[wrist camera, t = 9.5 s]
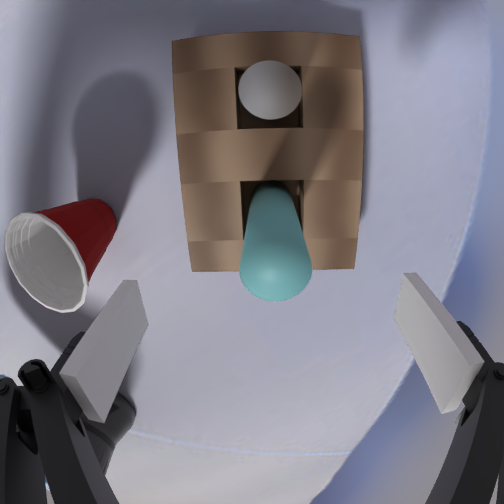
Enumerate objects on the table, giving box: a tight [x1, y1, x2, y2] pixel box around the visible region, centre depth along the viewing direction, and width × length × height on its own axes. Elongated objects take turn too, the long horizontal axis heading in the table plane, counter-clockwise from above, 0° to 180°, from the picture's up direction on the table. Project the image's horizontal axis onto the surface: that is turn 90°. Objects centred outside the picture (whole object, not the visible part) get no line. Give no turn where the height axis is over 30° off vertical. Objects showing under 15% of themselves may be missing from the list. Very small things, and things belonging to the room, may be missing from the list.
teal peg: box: [239, 180, 312, 301], centre depth 23 cm, size 4×4×15 cm
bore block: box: [172, 31, 363, 272], centre depth 24 cm, size 16×22×11 cm
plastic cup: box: [5, 199, 116, 313], centre depth 28 cm, size 11×11×12 cm
